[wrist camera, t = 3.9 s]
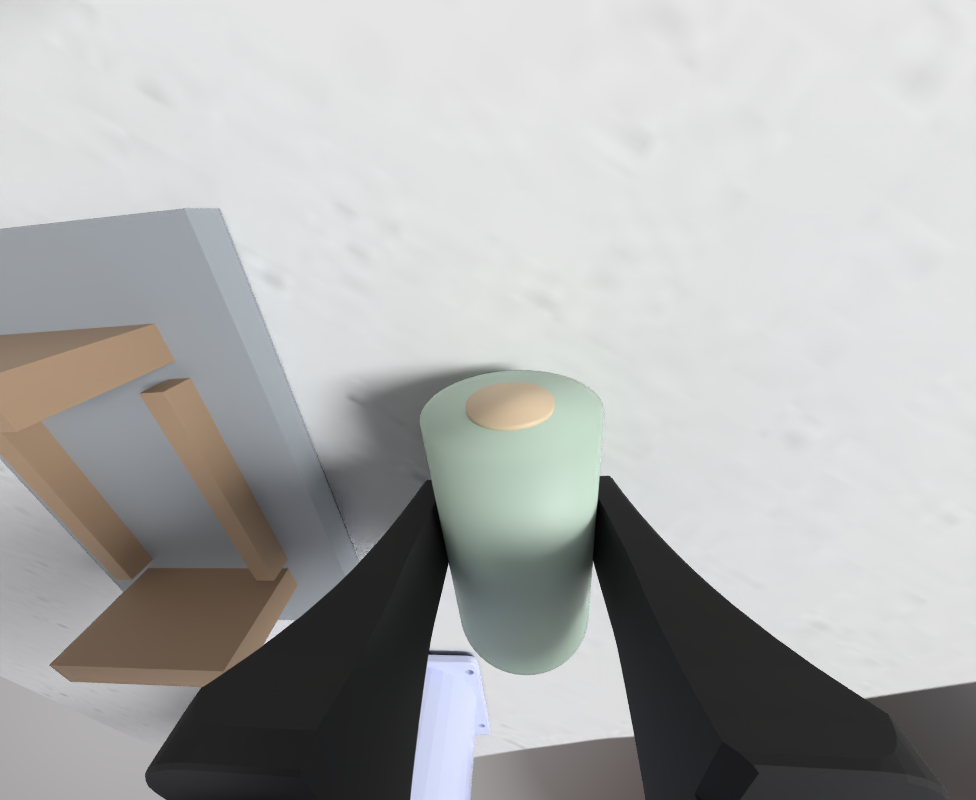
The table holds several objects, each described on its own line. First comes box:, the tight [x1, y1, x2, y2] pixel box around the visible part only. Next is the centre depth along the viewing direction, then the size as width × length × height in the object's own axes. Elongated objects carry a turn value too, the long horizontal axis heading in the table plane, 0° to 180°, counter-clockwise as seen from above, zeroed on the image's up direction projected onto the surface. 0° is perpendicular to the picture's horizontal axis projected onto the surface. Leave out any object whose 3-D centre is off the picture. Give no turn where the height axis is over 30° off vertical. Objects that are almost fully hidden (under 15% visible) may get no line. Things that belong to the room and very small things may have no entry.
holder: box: [0, 209, 359, 687], centre depth 13 cm, size 18×12×5 cm, turn 5°
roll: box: [420, 370, 604, 675], centre depth 11 cm, size 8×4×4 cm, turn 5°
